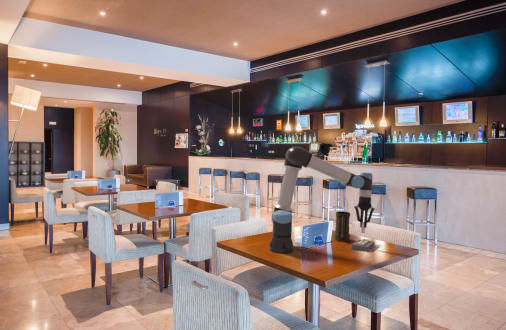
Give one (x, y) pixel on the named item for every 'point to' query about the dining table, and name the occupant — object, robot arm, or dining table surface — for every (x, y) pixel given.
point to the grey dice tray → (363, 248)
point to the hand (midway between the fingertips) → (362, 232)
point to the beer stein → (342, 226)
